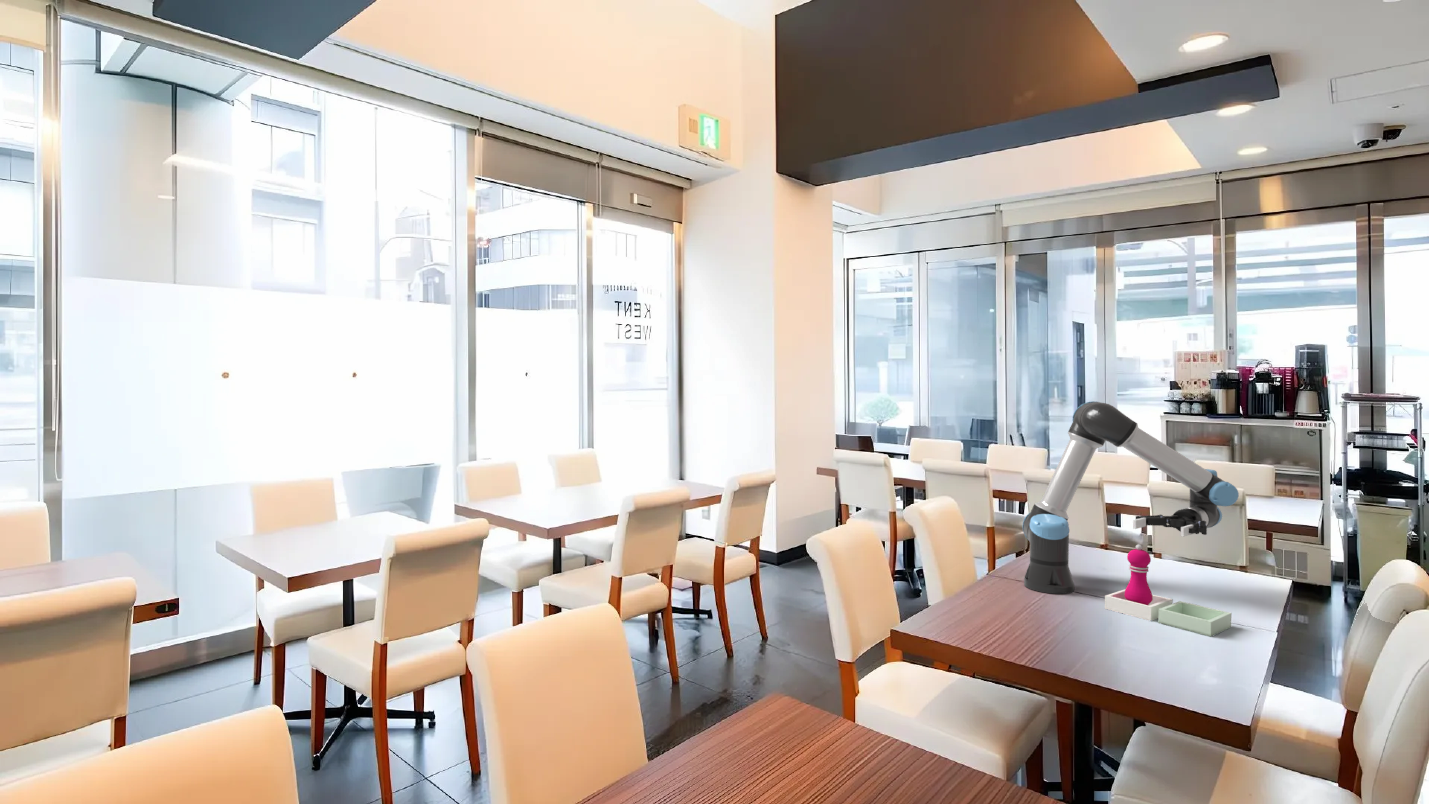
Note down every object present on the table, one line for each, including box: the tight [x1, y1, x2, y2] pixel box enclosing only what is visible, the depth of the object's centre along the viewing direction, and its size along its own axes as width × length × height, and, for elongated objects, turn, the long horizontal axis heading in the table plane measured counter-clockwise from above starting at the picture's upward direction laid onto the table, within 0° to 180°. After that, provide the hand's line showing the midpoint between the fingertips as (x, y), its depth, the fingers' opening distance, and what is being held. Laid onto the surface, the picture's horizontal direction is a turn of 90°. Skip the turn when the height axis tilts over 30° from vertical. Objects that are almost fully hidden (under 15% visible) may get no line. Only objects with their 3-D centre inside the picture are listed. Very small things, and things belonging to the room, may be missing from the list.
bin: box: [1104, 588, 1173, 622], centre depth 210 cm, size 13×13×4 cm
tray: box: [1157, 600, 1232, 637], centre depth 197 cm, size 13×13×4 cm
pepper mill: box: [1124, 543, 1153, 606], centre depth 210 cm, size 7×7×20 cm
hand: (1157, 528), depth 215 cm, fingers open, 13 cm apart
